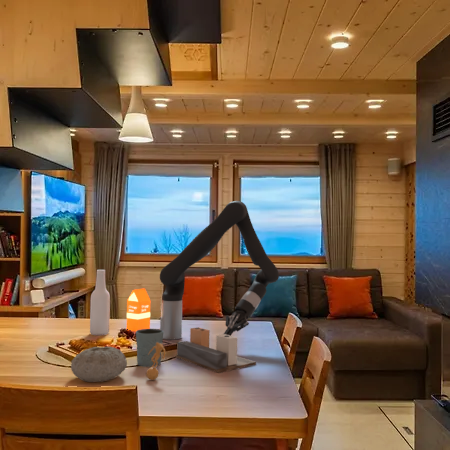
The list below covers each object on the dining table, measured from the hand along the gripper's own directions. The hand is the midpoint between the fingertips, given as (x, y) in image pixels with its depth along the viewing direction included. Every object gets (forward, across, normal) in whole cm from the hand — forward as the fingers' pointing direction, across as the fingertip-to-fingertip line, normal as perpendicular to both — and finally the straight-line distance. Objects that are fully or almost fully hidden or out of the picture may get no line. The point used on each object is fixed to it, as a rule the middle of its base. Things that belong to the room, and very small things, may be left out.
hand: (225, 337), depth 198 cm
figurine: (+34, +14, -25) cm, 45 cm away
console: (+13, +8, -4) cm, 15 cm away
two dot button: (+13, 0, -6) cm, 14 cm away
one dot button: (+13, +16, -6) cm, 21 cm away
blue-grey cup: (+28, -4, -19) cm, 34 cm away
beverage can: (-5, -62, +14) cm, 64 cm away
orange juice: (+8, -60, 0) cm, 61 cm away
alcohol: (+22, -62, -14) cm, 67 cm away
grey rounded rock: (+44, +2, -35) cm, 56 cm away
